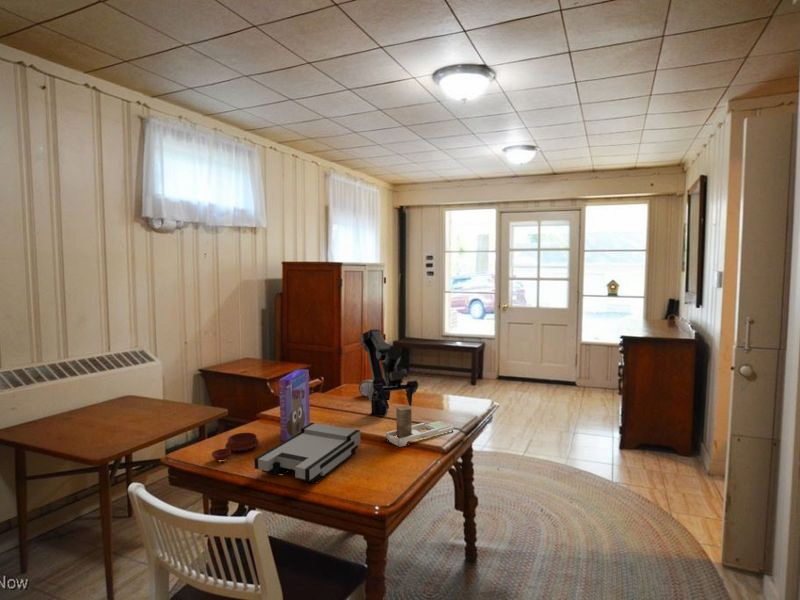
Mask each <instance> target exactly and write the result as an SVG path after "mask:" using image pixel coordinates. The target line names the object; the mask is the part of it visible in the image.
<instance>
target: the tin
mask: <svg viewBox="0 0 800 600" xmlns="http://www.w3.org/2000/svg"><path fill="white" fill-rule="evenodd" d="M372 382H373V379H363V380H361V382H359V385H358V391H359V393H360V395H361V396H363V397H367V398H369V397H368V394H369V391H370V389H371V388H370V387H371V385H372Z"/></svg>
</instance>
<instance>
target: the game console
mask: <svg viewBox="0 0 800 600" xmlns="http://www.w3.org/2000/svg"><path fill="white" fill-rule="evenodd" d="M360 443H361V430H359V429H355V428H348V427H347V428H346V427H343V426H341V427H340V426H335V425H328V424H321V423H316V422H310V424H308V425H307V426H305V427H303V428H301V432H300V433H298V434H296V435H295V436H293V437H291V438H289V439H288V440H286V441H282V442H281V443H279V444H277V445H275V446H273V447H272V448H270V449H268V450H267V451H265V452H263V453H261V454H260V455H258V456H256V457H255V458H253V459H254V461H253V462H254V470H255V469H256V470H261V472H264V473H267V474H271V473H272V474H271V475H275V474H276V475H275V476H279V475H278V474H284V473H285V472H287V471H289V470H290V471H292V470H293V471H294V475H295V479H296V480H299V481H303V480H304V481H303V482H309V483H312V482H318V481H319V480H320V479H322V478H323V479H324V478H326V477H327V476H328V475H330V474H331V473H332V472H333V471H335V470H336V469H337V468H338V467H340V466H341V465H342V464H344V463H345V462H346V461H347V460H349V459H350V458H352V457H353V456H354V455H355V454H356V449H358V448H359V446H358V445H359V444H360ZM291 469H292V470H291ZM290 471H289V472H290ZM287 473H288V472H287ZM329 473H330V474H329ZM284 475H285V474H284ZM326 475H327V476H326ZM325 476H326V477H325ZM323 479H322V480H323ZM320 481H321V480H320ZM320 481H319V482H320ZM319 482H318V483H319Z"/></svg>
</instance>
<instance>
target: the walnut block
mask: <svg viewBox="0 0 800 600" xmlns="http://www.w3.org/2000/svg"><path fill="white" fill-rule="evenodd" d="M395 414H396V430H397V437H398V438H399V439H400V438H403V437H407V436H410V435H412V426H413V424H412V423H413V422H412V421H413V420H412V408H411V407H410V406H408V405H402V406H401V405H400V406H396V412H395Z"/></svg>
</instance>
